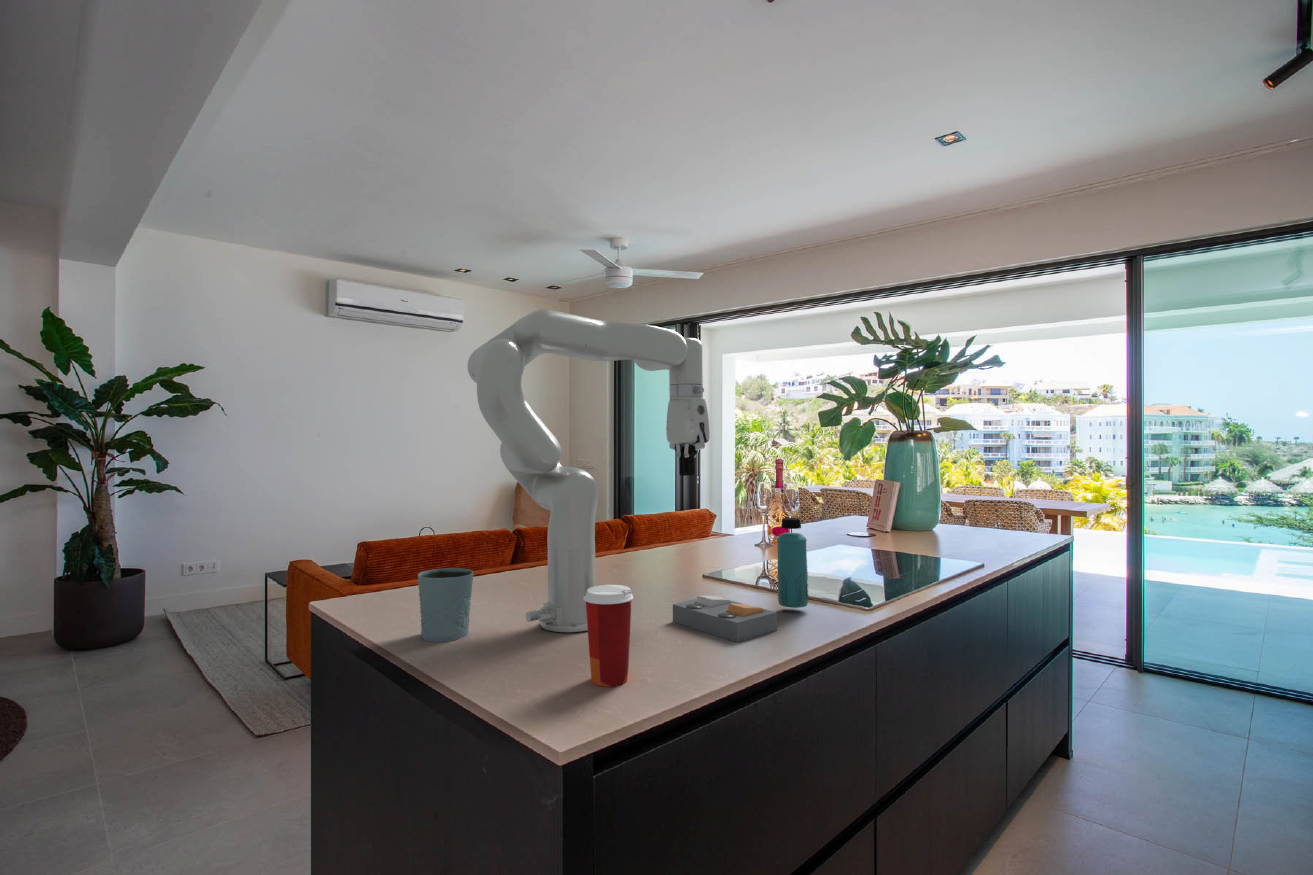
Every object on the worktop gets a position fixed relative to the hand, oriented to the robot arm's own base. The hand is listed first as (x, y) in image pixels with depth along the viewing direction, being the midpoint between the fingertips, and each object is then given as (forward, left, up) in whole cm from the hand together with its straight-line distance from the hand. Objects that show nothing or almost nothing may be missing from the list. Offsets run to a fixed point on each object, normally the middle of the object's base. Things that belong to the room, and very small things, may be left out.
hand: (687, 475), depth 145 cm
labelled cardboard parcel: (-4, -21, -26) cm, 34 cm away
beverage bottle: (+13, -19, -29) cm, 37 cm away
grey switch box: (-6, -17, -29) cm, 34 cm away
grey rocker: (-4, -12, -26) cm, 29 cm away
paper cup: (-40, -26, -29) cm, 56 cm away
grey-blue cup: (-50, +14, -29) cm, 60 cm away
